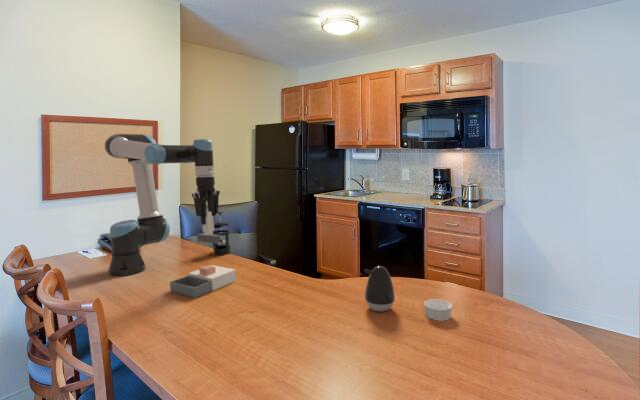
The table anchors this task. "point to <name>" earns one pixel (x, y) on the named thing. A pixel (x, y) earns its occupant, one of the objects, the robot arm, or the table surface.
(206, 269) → the tile
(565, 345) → the table surface
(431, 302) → the ramekin
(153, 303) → the table surface
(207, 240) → the scraper
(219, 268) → the plate
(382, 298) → the pump dispenser
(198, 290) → the box
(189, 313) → the table surface
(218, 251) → the french press
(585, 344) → the table surface
